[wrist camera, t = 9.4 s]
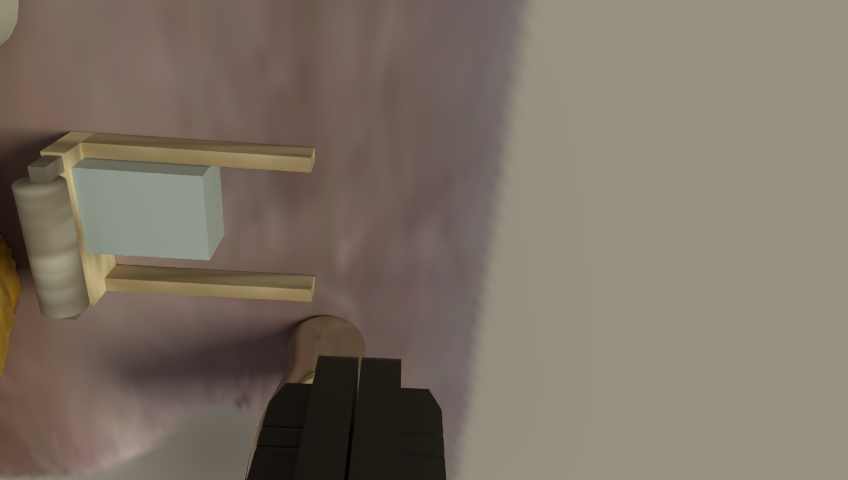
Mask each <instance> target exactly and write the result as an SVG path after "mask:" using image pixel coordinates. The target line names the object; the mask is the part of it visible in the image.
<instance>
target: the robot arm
mask: <svg viewBox="0 0 848 480" xmlns="http://www.w3.org/2000/svg"><path fill="white" fill-rule="evenodd" d="M358 369H359V357H343V356H323V355H319V356H318V359H317V364H316V369H315V373H314V378H313V383H312V384H307V383H286V384H285V385H284V386H283V387H282V388H281V389H280V390H279V391H278V393H277V394H276V395H275V396H274V397H273V398H272V399H271V400H270V401H269V403H268V407H267V410H266V414H265V417H264V421H263V424H262V430H261V431H260V435H259V438H258V441H257V447H256V450H255V452H254V455H253V459H252V462H251V466H250V469H249V473H248V476H247V480H446V471H445V458H444V440H443V425H442V410H441V408H440V407H439V405H438V403H437V402H436V400H435V399H434V397H433V395H432V394H431V392H430V391H429V389H415V388H401V359H386V358H366V357H362V360H361V369H360V378H359V388H358ZM357 394H358V397H357Z"/></svg>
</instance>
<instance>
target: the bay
mask: <svg viewBox="0 0 848 480" xmlns="http://www.w3.org/2000/svg"><path fill="white" fill-rule="evenodd" d="M40 153H41V158H39V159H38V160H36V161H35V162H33V163H32V164H30V165H29V166H27V167H28V172H29V176H27V177H24V178H21V179H18V180H16V181H15V182H13V184H12V190H13V194H14V199H15V203H16V207H17V212H18V216H19V220H20V225H21V229H22V233H23V238H24V242H25V246H26V250H27V255H28V259H29V263H30V268H31V272H32V276H33V281H34V285H35V289H36V294H37V298H38V302H39V306H40V311H41V313H42V315H44V316H45V317H48V318H54V319H73V320H76V319H77V318H78V317H79V315H80V314H81V313H82V312H83V311H85V310H86V309H87V308H88V306H89V305H90V306H94V305H95V304H96V303H97V301H98V300H99V299H100V298H101V296H102V295H103V294H104V293H105V291H106V290H108V291H127V292H145V293H163V294H181V295H200V296H218V297H236V298H254V299H272V300H291V301H309V302H311V300H312V296H313V292H314V288H315V276H310V275H292V274H275V273H257V272H240V271H222V270H204V269H187V268H169V267H152V266H134V265H117V264H116V262H115V256H114V255H111V254H94V253H87V252H86V247H85V241H84V236H83V230H82V225H81V219H80V214H79V208H78V203H77V197H76V192H75V186H74V181H73V175H72V170H71V167H73V166H74V165H75V164H77V163H78V162H79V161H81V160H82V159H83V158H99V159H114V160H129V161H145V162H160V163H175V164H190V165H205V166H221V167H236V168H251V169H266V170H282V171H297V172H311V170H312V168H313V165H314V163H315V148H309V147H295V146H280V145H265V144H250V143H236V142H221V141H206V140H191V139H177V138H162V137H147V136H132V135H118V134H103V133H88V132H73V131H71V132H70V133H68V134H66V135H65V136H63V137H62V138H60V139H59V140H57V141H56V142H54V143H52V144H51V145H49V146H48V147H46V148H45V149H43V150H41V151H40Z"/></svg>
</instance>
